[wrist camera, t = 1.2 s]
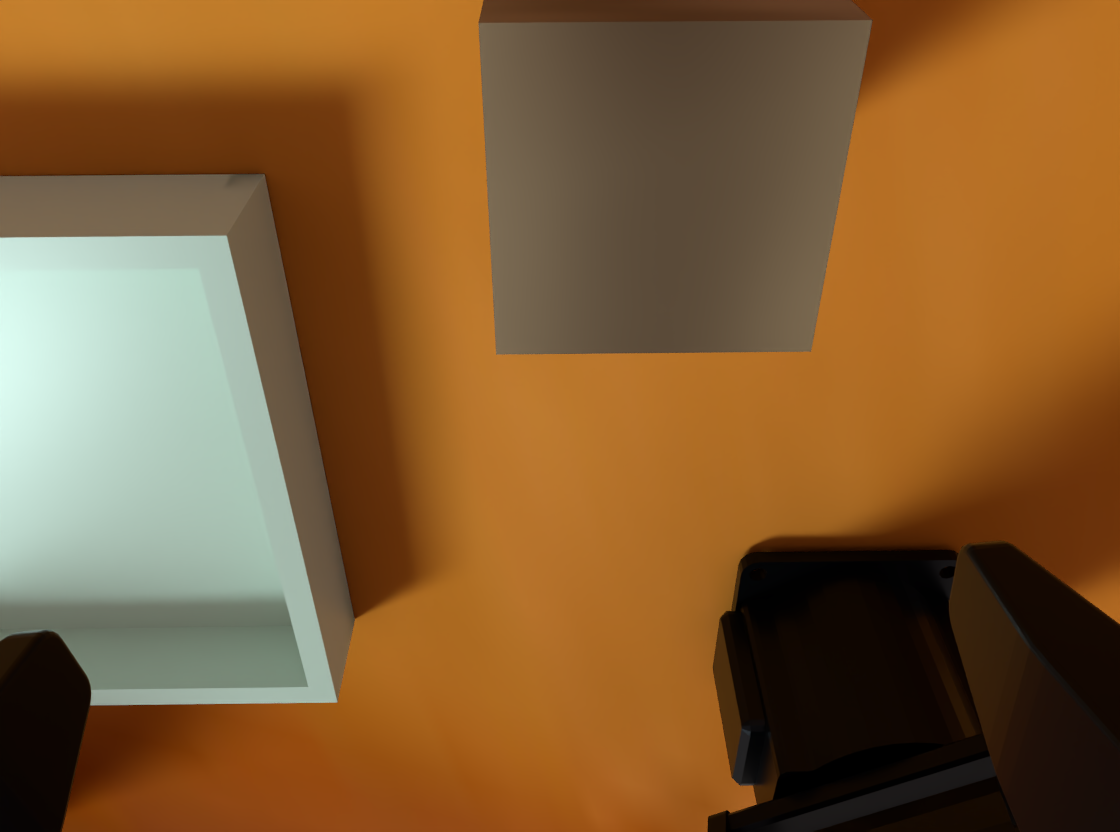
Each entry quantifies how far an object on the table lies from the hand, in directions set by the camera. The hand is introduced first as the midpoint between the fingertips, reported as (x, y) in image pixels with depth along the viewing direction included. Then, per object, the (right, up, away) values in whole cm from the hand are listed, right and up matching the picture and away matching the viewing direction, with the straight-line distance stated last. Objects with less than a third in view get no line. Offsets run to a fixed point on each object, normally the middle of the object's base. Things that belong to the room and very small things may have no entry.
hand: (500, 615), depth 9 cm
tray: (-13, +1, +15) cm, 20 cm away
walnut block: (+2, +9, +10) cm, 13 cm away
